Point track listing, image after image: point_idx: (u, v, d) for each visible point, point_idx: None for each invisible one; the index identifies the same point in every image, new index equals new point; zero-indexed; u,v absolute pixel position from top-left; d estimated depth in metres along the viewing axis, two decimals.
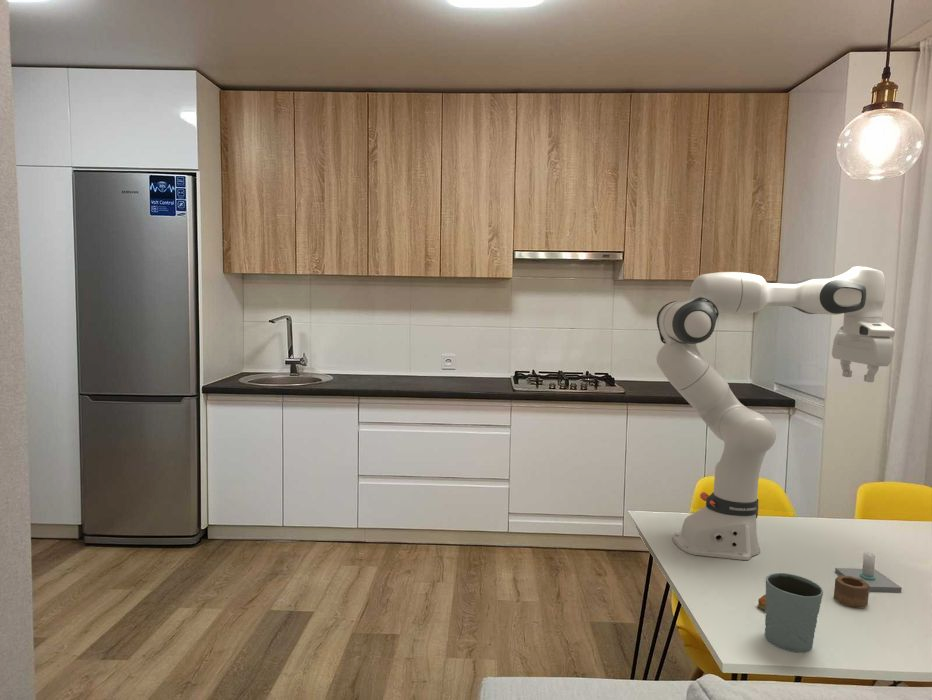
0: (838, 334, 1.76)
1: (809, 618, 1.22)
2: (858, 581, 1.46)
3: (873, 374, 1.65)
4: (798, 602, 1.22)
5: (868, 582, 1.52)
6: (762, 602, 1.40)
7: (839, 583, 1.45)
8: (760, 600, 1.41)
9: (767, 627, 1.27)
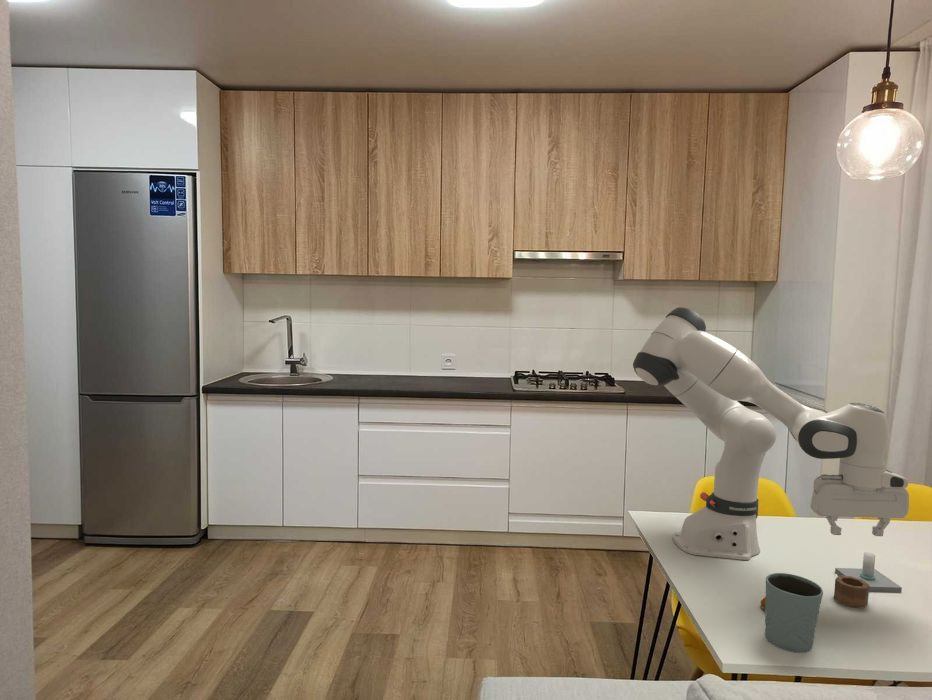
0: (833, 487, 1.41)
1: (809, 618, 1.22)
2: (858, 581, 1.46)
3: None
4: (798, 602, 1.22)
5: (868, 582, 1.52)
6: (765, 603, 1.39)
7: (839, 583, 1.45)
8: (763, 601, 1.40)
9: (767, 627, 1.27)
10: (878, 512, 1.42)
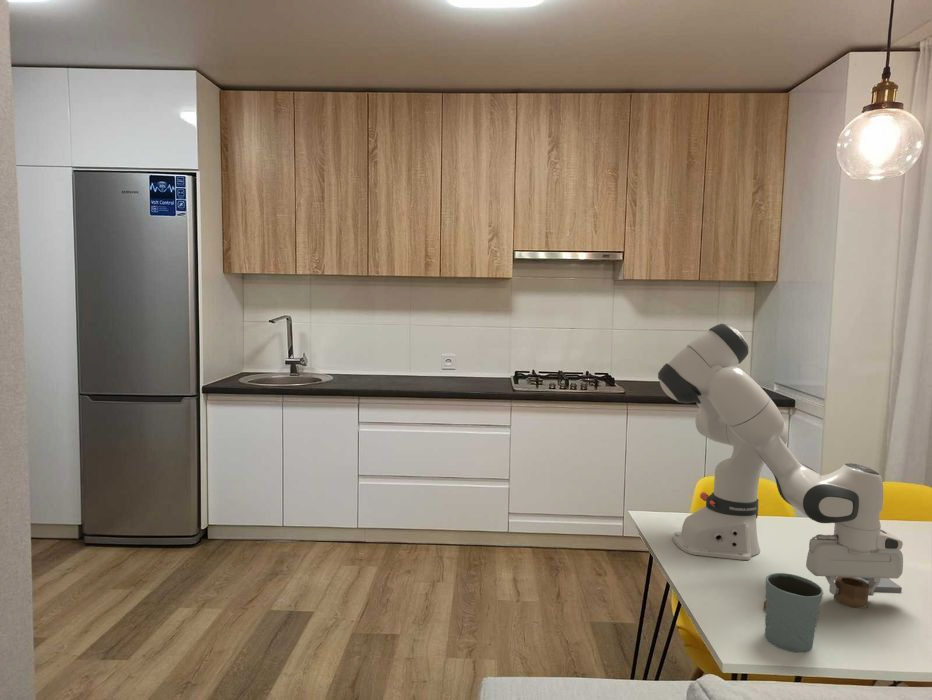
0: (828, 548, 1.42)
1: (809, 618, 1.22)
2: (858, 581, 1.46)
3: None
4: (798, 602, 1.22)
5: None
6: None
7: (839, 583, 1.45)
8: None
9: (767, 627, 1.27)
10: (873, 572, 1.43)
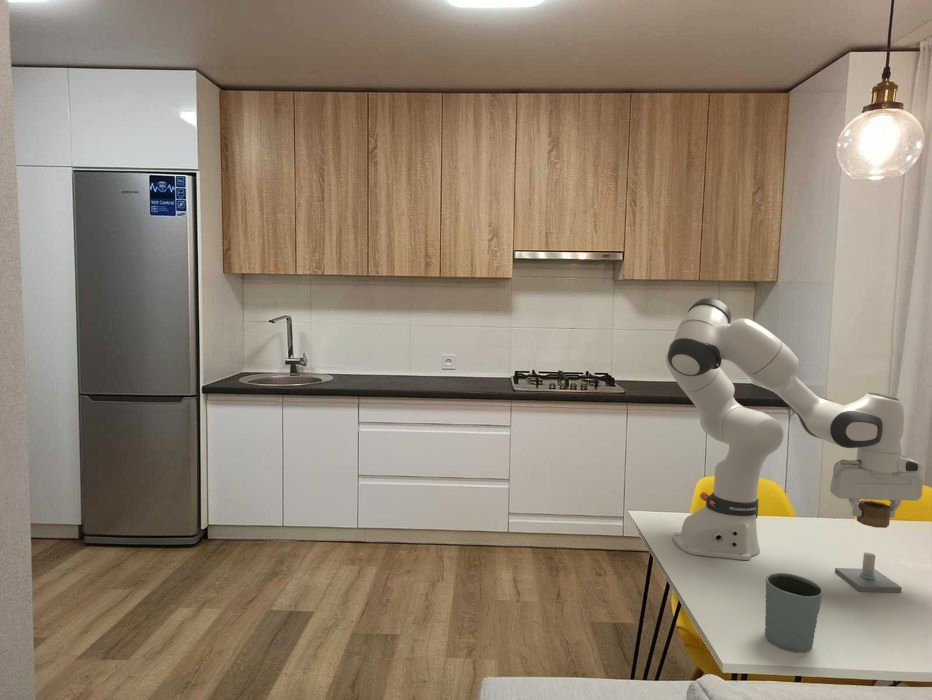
0: (851, 471, 1.51)
1: (809, 618, 1.22)
2: (880, 504, 1.54)
3: None
4: (798, 602, 1.22)
5: (868, 582, 1.52)
6: None
7: (862, 506, 1.53)
8: None
9: (767, 627, 1.27)
10: (894, 495, 1.51)
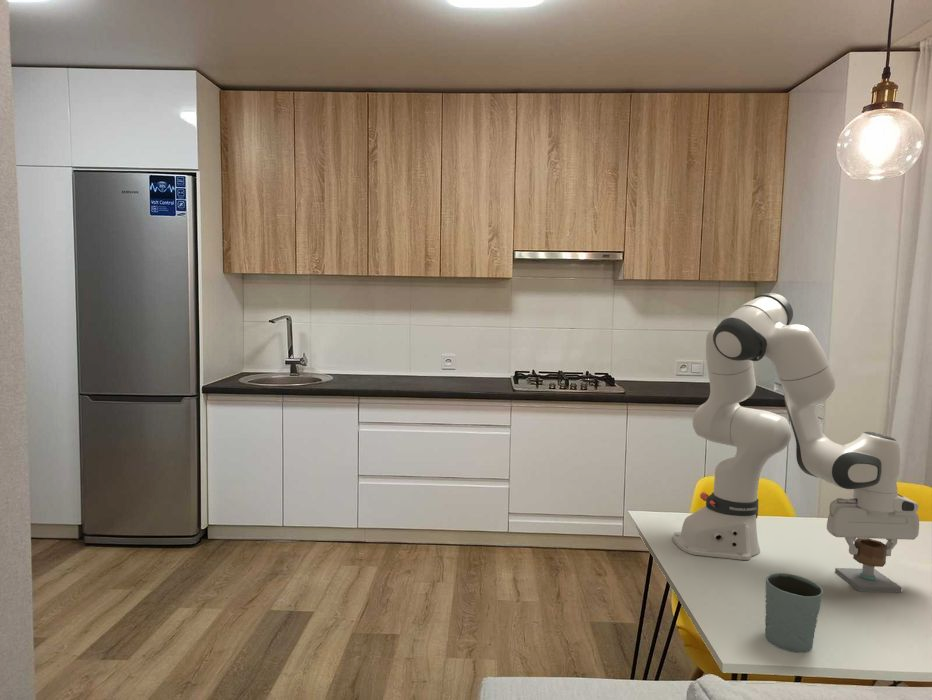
0: (847, 510, 1.52)
1: (809, 618, 1.22)
2: (876, 543, 1.55)
3: None
4: (798, 602, 1.22)
5: (868, 582, 1.52)
6: None
7: (858, 544, 1.54)
8: None
9: (767, 627, 1.27)
10: (890, 534, 1.52)
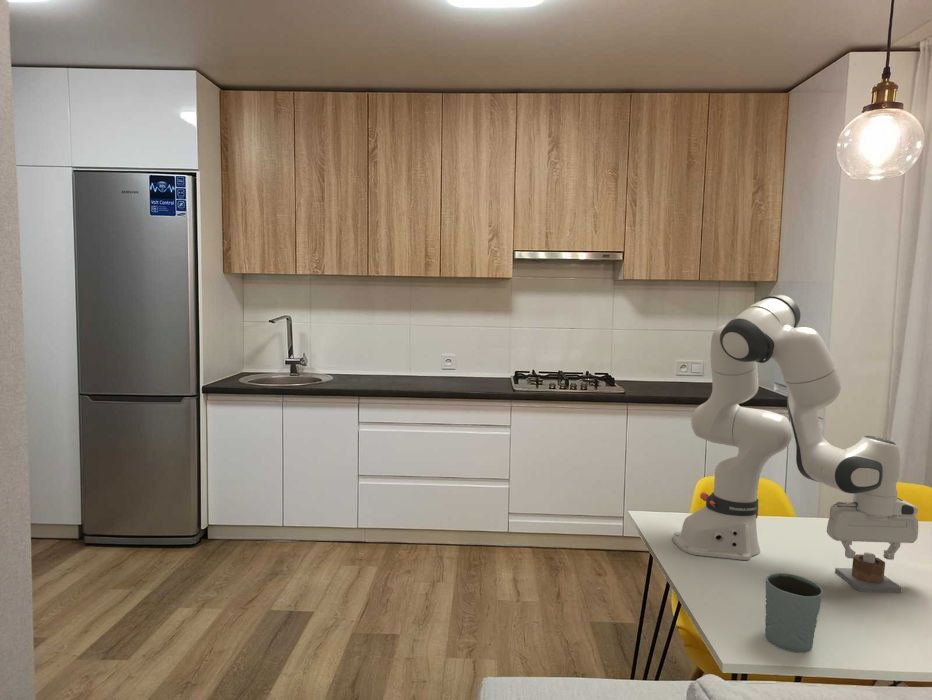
0: (848, 514, 1.52)
1: (809, 618, 1.22)
2: None
3: None
4: (798, 602, 1.22)
5: None
6: None
7: (857, 561, 1.54)
8: None
9: (767, 627, 1.27)
10: (890, 537, 1.52)
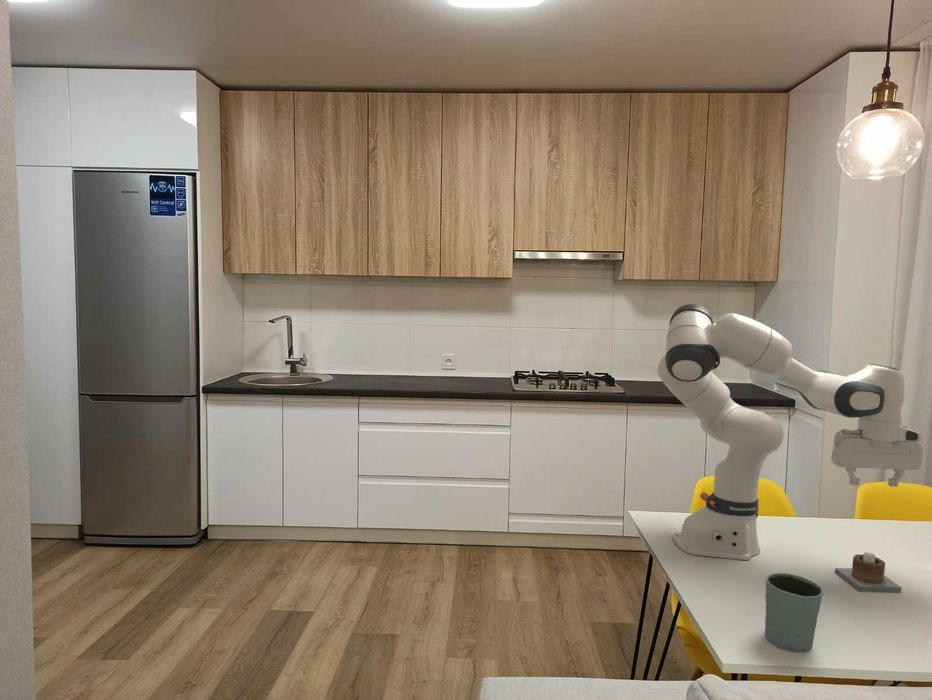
0: (852, 440, 1.54)
1: (809, 618, 1.22)
2: None
3: None
4: (798, 602, 1.22)
5: None
6: None
7: (857, 561, 1.54)
8: None
9: (767, 627, 1.27)
10: (894, 464, 1.54)
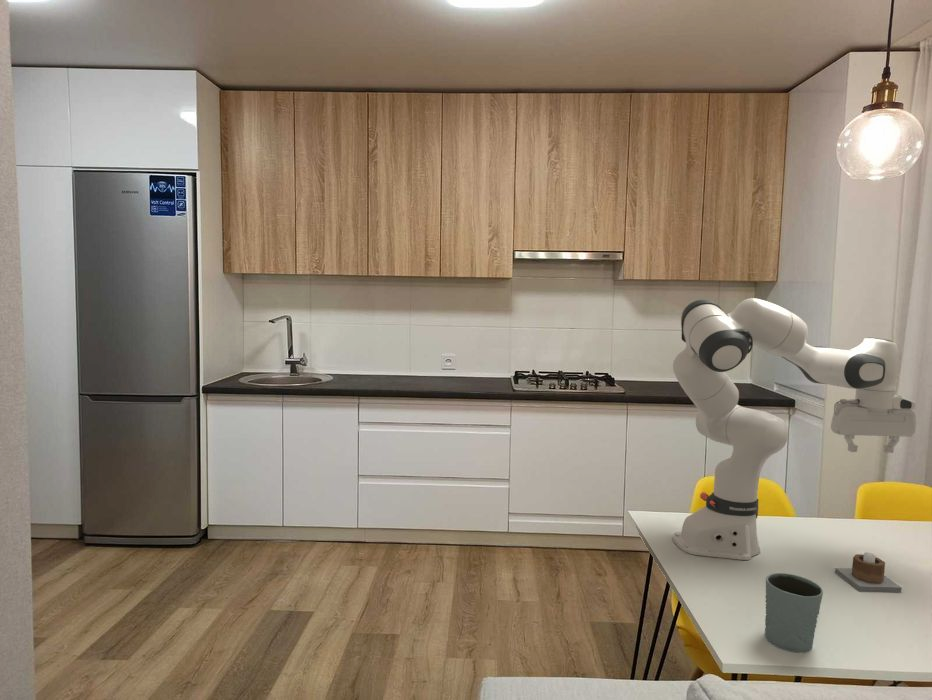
0: (850, 409, 1.64)
1: (809, 618, 1.22)
2: None
3: None
4: (798, 602, 1.22)
5: None
6: None
7: (857, 561, 1.54)
8: None
9: (767, 627, 1.27)
10: (889, 431, 1.64)
